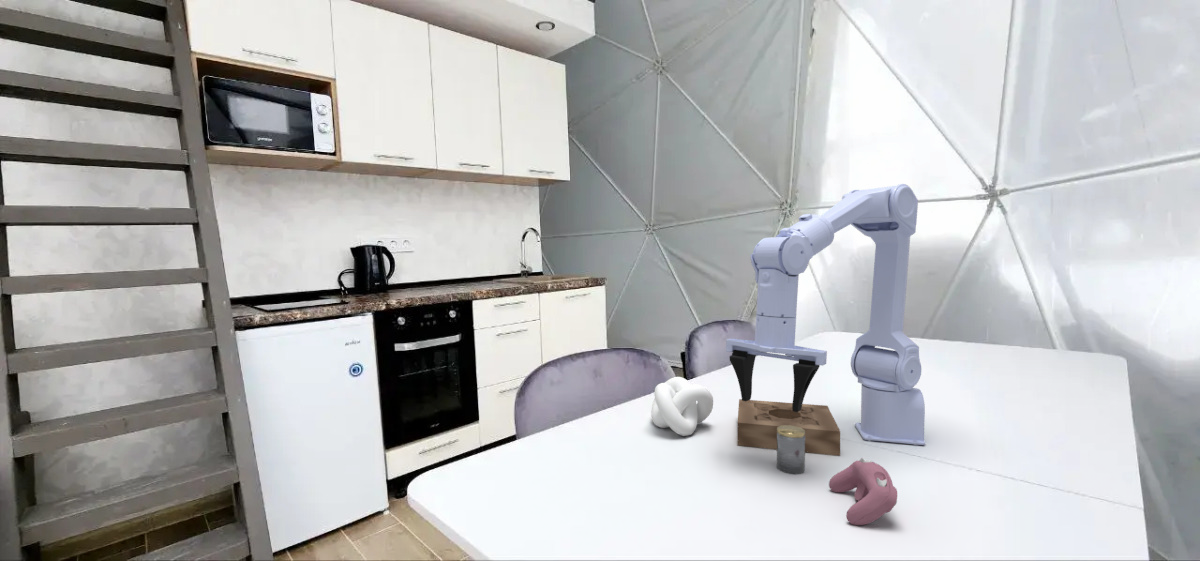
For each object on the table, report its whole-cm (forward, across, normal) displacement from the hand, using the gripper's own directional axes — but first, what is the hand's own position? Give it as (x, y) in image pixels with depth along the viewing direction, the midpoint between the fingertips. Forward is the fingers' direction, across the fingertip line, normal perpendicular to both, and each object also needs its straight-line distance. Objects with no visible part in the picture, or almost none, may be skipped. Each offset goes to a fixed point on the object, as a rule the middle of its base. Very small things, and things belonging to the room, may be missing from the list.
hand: (770, 405), depth 75 cm
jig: (+9, -2, +15) cm, 18 cm away
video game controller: (+10, +14, -4) cm, 17 cm away
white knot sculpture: (+10, -19, +8) cm, 23 cm away
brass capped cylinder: (+10, +3, +2) cm, 10 cm away
